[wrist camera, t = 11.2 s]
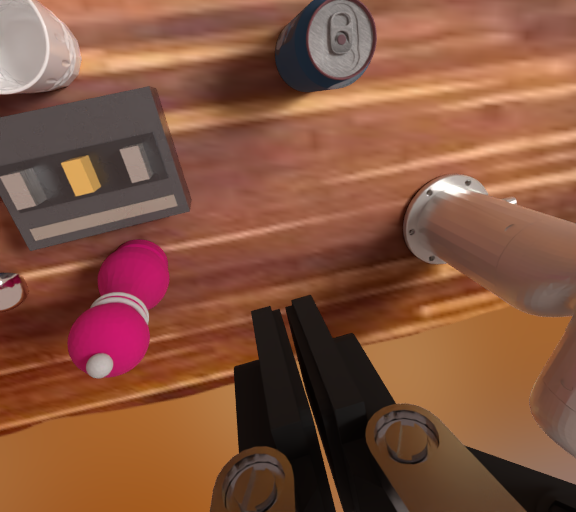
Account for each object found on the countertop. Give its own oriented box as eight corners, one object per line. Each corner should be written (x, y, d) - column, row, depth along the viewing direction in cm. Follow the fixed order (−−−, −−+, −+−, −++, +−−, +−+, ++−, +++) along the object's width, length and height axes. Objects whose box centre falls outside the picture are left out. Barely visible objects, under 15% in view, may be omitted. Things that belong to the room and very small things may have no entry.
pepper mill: (113, 292, 45) (51, 419, 27) (103, 236, 42) (27, 335, 24) (174, 288, 46) (155, 406, 28) (169, 233, 43) (144, 325, 25)
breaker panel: (156, 88, 38) (144, 84, 31) (191, 199, 43) (188, 218, 35) (-8, 122, 36) (-60, 127, 29) (49, 234, 41) (17, 262, 34)
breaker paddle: (88, 155, 34) (79, 158, 32) (101, 186, 35) (94, 192, 33) (70, 159, 34) (60, 163, 31) (84, 190, 35) (75, 196, 33)
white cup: (103, 42, 35) (68, 20, 26) (66, 113, 37) (21, 116, 28) (15, -20, 32) (-59, -69, 23) (-21, 60, 34) (-103, 45, 25)
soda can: (335, 90, 41) (382, 85, 30) (275, 94, 40) (301, 91, 29) (334, 18, 39) (385, -16, 28) (269, 20, 37) (296, -14, 27)
